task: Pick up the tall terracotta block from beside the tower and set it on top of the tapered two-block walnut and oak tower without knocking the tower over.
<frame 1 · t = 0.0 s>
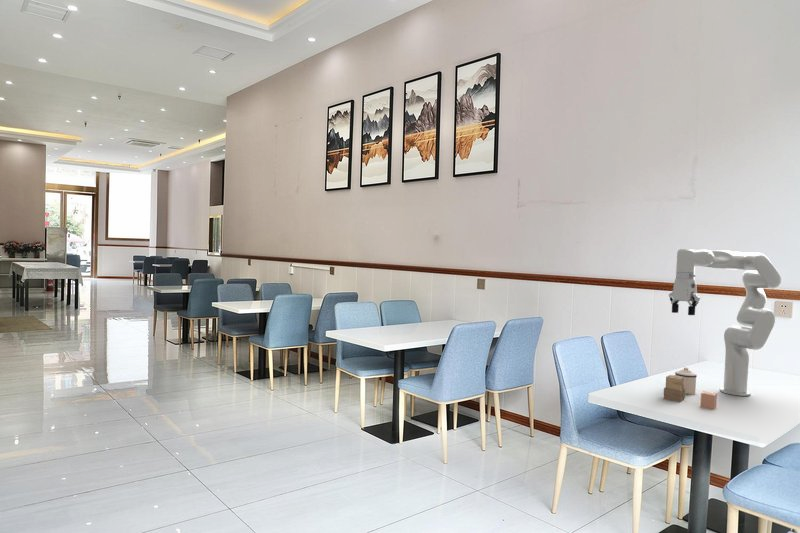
hand: (683, 313, 251), 37 cm above the table, tool pointing down, fingers open, 9 cm apart
terracotta block: (708, 407, 233), on the table
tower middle: (674, 388, 244), point 5 cm above the table, touching tower base
tower base: (674, 399, 244), on the table, touching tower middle
teacup with lid: (681, 392, 259), on the table
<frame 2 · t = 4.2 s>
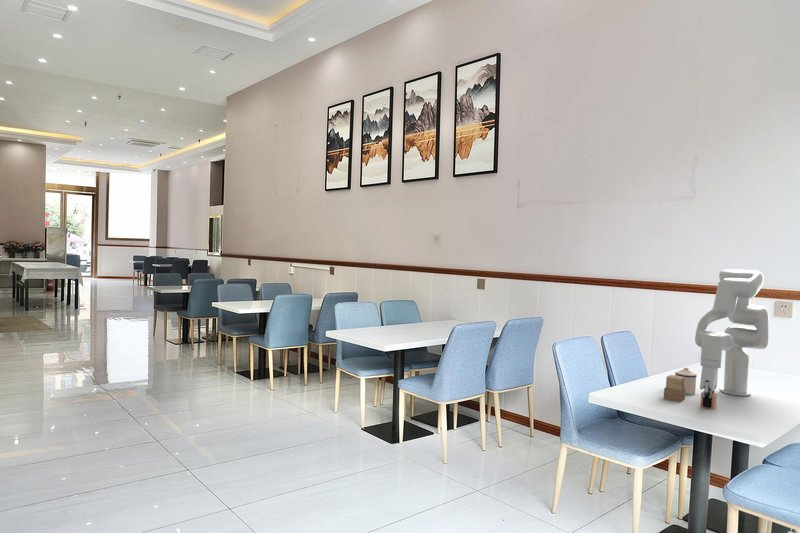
hand: (708, 405, 233), 1 cm above the table, tool pointing down, fingers closed on terracotta block, 5 cm apart
terracotta block: (708, 407, 233), on the table, touching gripper
everything else where it was.
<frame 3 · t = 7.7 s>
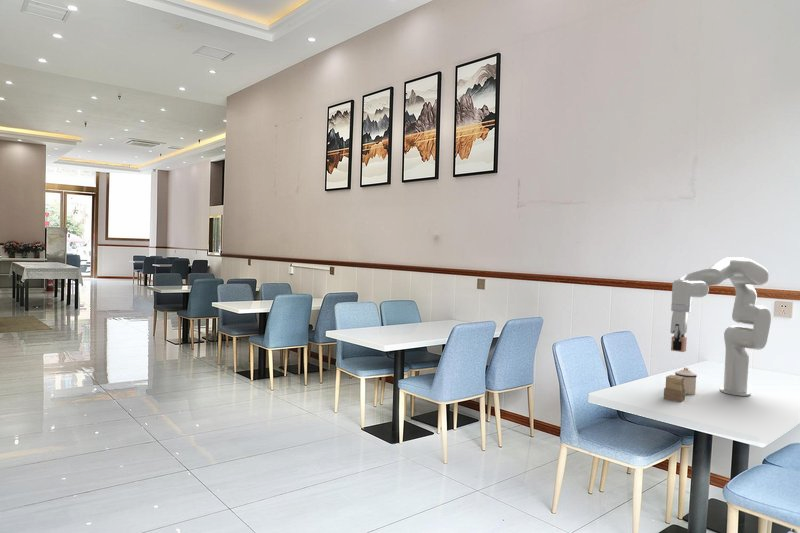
hand: (678, 349, 243), 22 cm above the table, tool pointing down, fingers closed on terracotta block, 5 cm apart
terracotta block: (678, 350, 243), point 22 cm above the table, touching gripper
everything else where it was.
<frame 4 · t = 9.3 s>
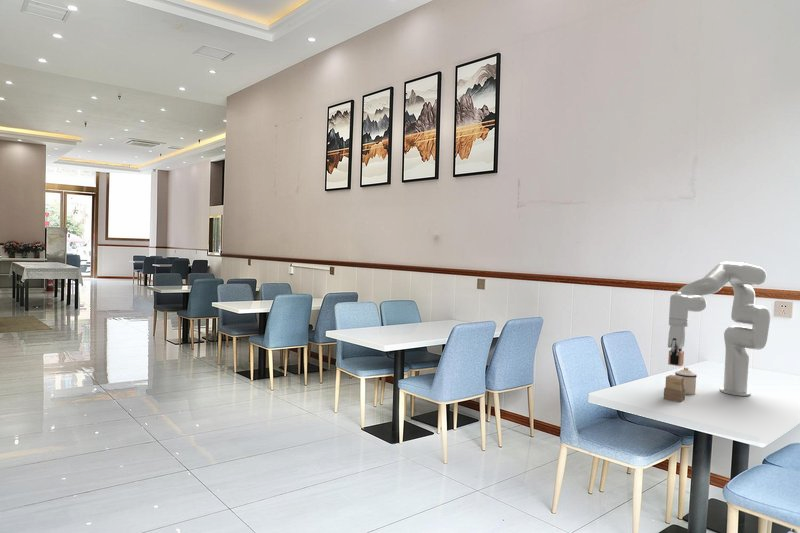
hand: (675, 363, 244), 16 cm above the table, tool pointing down, fingers closed on terracotta block, 5 cm apart
terracotta block: (675, 364, 244), point 15 cm above the table, touching gripper
everything else where it was.
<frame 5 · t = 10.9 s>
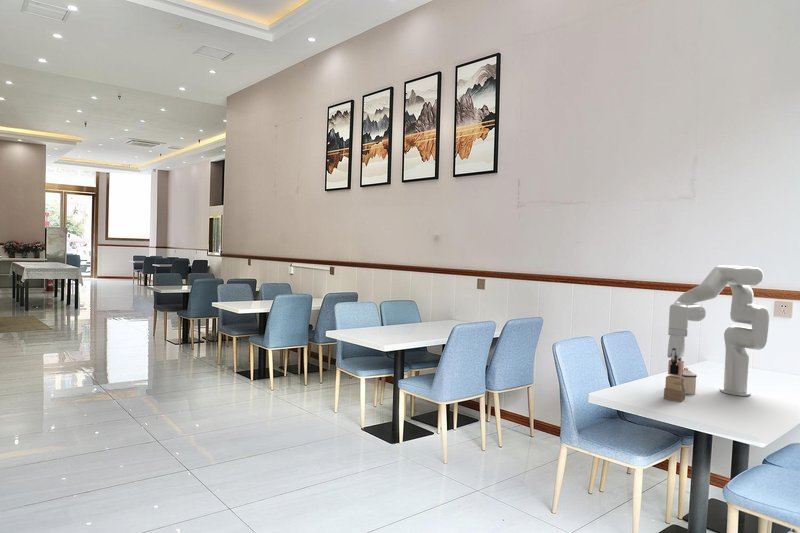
hand: (675, 372, 244), 12 cm above the table, tool pointing down, fingers closed on terracotta block, 4 cm apart
terracotta block: (675, 374, 244), point 11 cm above the table, touching gripper
everything else where it was.
when the fingers open (12 cm above the table, at t = 11.1 s): terracotta block drops 1 cm, resting on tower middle.
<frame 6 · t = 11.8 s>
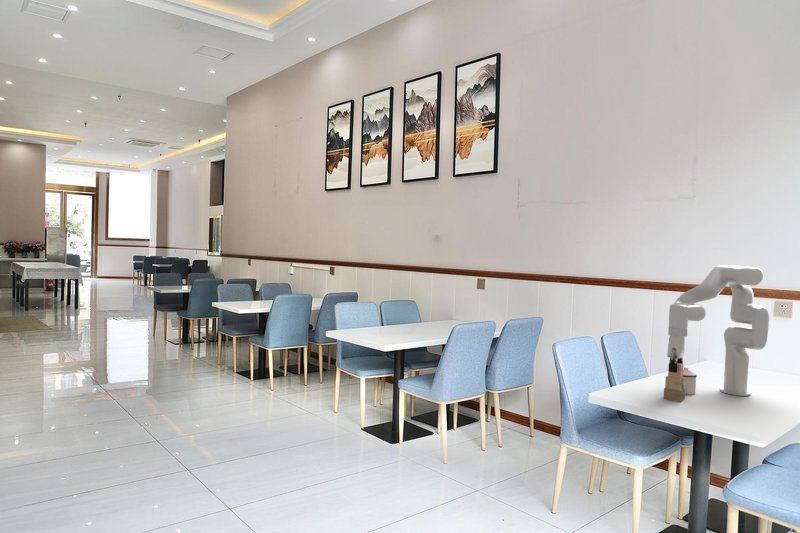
hand: (675, 370, 244), 13 cm above the table, tool pointing down, fingers open, 9 cm apart
terracotta block: (675, 377, 244), point 10 cm above the table, touching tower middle
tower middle: (674, 388, 244), point 5 cm above the table, touching terracotta block, tower base
everything else where it was.
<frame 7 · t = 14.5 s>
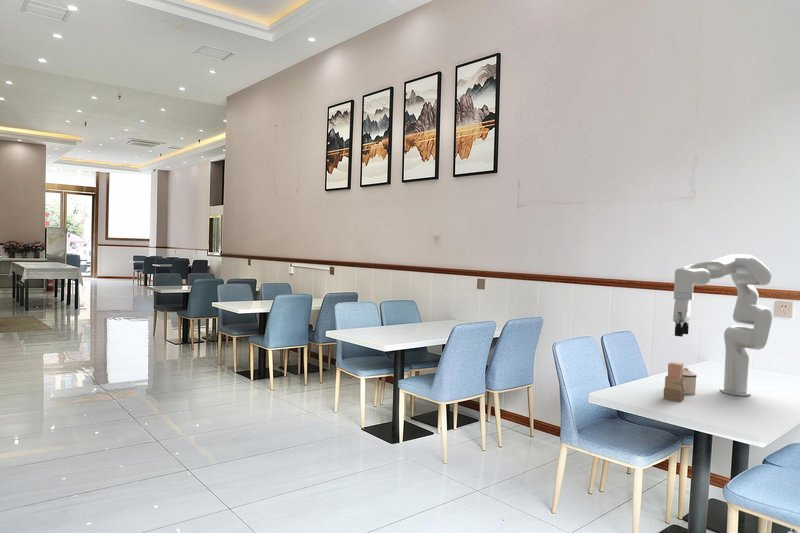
hand: (681, 335, 244), 29 cm above the table, tool pointing down, fingers open, 9 cm apart
nothing on the table moved.
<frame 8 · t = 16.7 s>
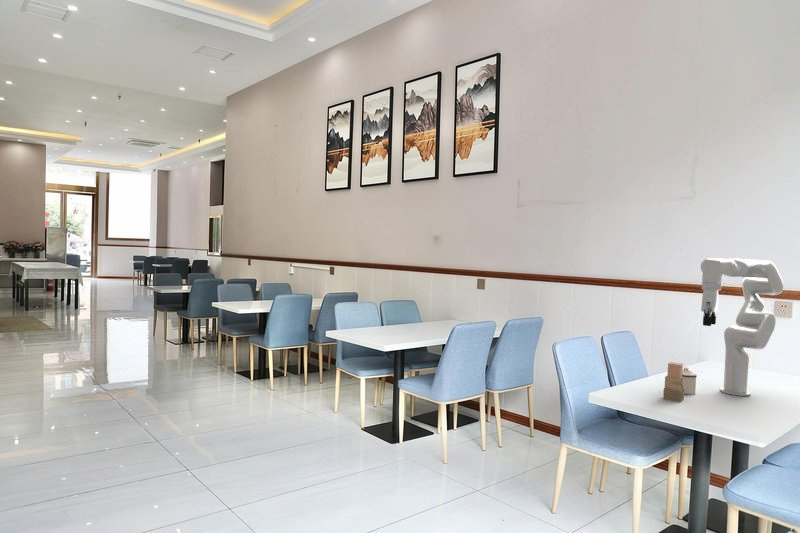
hand: (709, 324, 246), 33 cm above the table, tool pointing down, fingers open, 9 cm apart
nothing on the table moved.
at the end: terracotta block 0.1 cm off-centre on the tower base, point 10.0 cm above the tower base's base; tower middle 0.2 cm off-centre on the tower base, point 5.0 cm above the tower base's base; terracotta block tilted 0° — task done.
